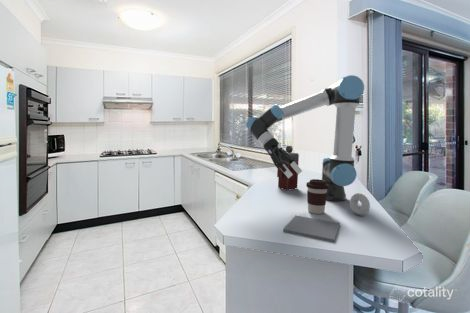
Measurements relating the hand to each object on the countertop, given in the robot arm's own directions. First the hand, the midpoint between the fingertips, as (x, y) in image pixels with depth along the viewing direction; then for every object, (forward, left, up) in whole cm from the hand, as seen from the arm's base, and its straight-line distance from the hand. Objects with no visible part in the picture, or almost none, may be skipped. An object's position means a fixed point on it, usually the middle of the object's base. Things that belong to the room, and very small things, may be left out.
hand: (295, 174), depth 123 cm
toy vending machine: (-20, -37, -17) cm, 46 cm away
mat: (+9, +25, -17) cm, 31 cm away
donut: (-22, +19, -17) cm, 33 cm away
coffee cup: (-6, +9, -17) cm, 20 cm away
